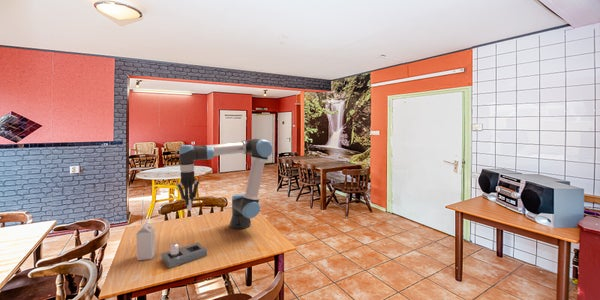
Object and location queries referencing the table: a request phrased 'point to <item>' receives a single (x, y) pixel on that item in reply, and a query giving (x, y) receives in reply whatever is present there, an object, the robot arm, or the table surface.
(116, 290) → the table surface
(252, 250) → the table surface
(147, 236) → the milk carton
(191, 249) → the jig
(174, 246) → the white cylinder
